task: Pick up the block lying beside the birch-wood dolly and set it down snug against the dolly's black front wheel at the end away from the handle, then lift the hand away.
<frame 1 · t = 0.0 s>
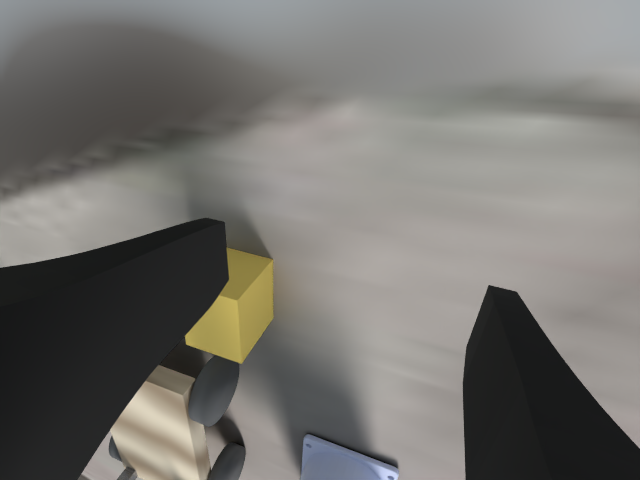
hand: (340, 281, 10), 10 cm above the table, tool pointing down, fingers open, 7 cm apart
block: (247, 282, 26), on the table
dolly: (187, 391, 35), on the table
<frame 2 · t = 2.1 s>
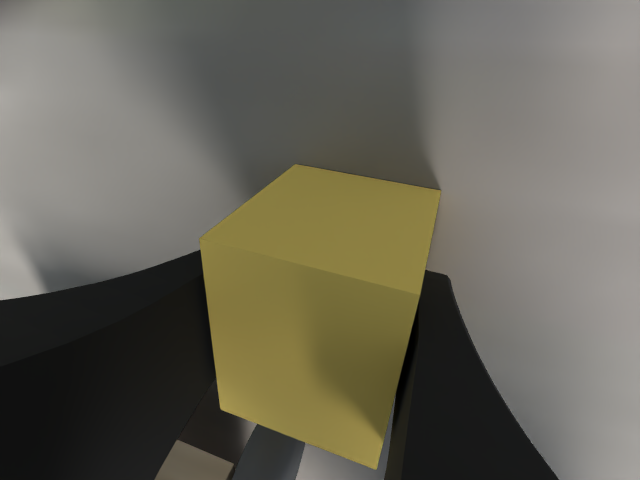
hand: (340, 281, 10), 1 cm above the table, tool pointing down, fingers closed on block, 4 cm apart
block: (354, 254, 11), on the table, touching gripper
dolly: (204, 452, 21), on the table
when the fingers open (2 cm above the table, at t = 5.7 s): block stays where it is, on the table.
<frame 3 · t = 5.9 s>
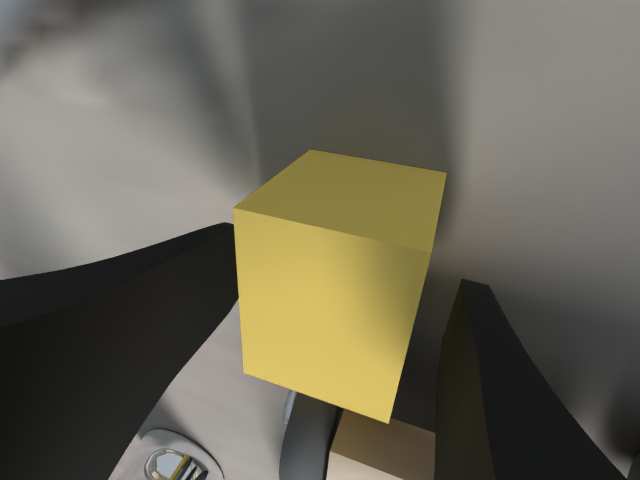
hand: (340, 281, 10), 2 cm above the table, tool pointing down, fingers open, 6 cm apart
beer glass: (186, 457, 25), on the table
block: (365, 234, 12), on the table
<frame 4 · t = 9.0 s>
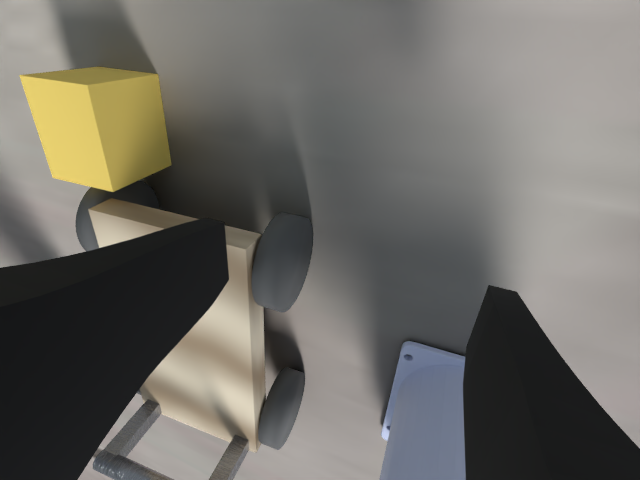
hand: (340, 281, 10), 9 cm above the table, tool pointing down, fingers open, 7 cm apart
block: (137, 117, 22), on the table
dolly: (229, 296, 26), on the table
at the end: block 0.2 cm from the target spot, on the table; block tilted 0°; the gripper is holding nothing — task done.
